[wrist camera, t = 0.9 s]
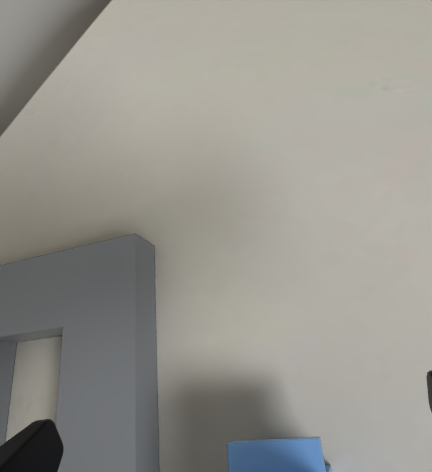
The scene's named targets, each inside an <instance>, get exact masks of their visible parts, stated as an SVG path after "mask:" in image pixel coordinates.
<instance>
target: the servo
mask: <svg viewBox="0 0 432 472" xmlns="http://www.w3.org/2000/svg"><path fill="white" fill-rule="evenodd" d="M227 452H228V463H229V472H332V469H331V465H325V463H324V457H323V452H322V446H321V440H320V437H303V438H283V439H263V440H243V441H230V442H228V443H227Z"/></svg>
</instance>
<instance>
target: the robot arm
mask: <svg viewBox="0 0 432 472" xmlns="http://www.w3.org/2000/svg"><path fill="white" fill-rule="evenodd" d="M427 387H428V398H429V405H430V409H431V412H432V370H431V371H429V372H428V373H427ZM63 451H64V447H63V442H62V440H61V438H60V435H59V433H58V430H57V428H56V426H55V423H54V422H53V421H52V420H50V419H45V420H38V421H35V422H33V423H31V424H30V425H29V426H27V427H26V428H25V429H23V430H22V431H20V432H19V433H18V434H16V435H15V436H14V437H12V438H11V439H9V440H8V441H7V442H5V443H4V444H3V445H1V446H0V472H58V469H59V466H60V463H61V459H62V456H63Z"/></svg>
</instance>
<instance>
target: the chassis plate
mask: <svg viewBox="0 0 432 472" xmlns="http://www.w3.org/2000/svg"><path fill="white" fill-rule="evenodd" d="M60 335H62V345H61V358H60V372H59V385H58V398H57V412H56V425H55V426H56V428H57V430H58V433H59V435H60V438H61V440H62V442H63V447H64V451H63V456H62V459H61V463H60V466H59V469H58V472H159V437H158V391H157V346H156V301H155V255H154V245H152V244H151V243H149V242H148V241H146V240H145V239H143V238H142V237H140V236H138V235H137V234H132V235H127V236H123V237H119V238H115V239H110V240H106V241H102V242H98V243H93V244H89V245H85V246H81V247H76V248H72V249H68V250H63V251H59V252H55V253H51V254H46V255H42V256H38V257H34V258H29V259H25V260H21V261H17V262H12V263H8V264H4V265H0V446H1V445H3V444H4V443H5V437H6V429H7V420H8V412H9V404H10V395H11V387H12V379H13V371H14V362H15V354H16V346H17V342H21V341H28V340H34V339H41V338H47V337H53V336H60Z"/></svg>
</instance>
